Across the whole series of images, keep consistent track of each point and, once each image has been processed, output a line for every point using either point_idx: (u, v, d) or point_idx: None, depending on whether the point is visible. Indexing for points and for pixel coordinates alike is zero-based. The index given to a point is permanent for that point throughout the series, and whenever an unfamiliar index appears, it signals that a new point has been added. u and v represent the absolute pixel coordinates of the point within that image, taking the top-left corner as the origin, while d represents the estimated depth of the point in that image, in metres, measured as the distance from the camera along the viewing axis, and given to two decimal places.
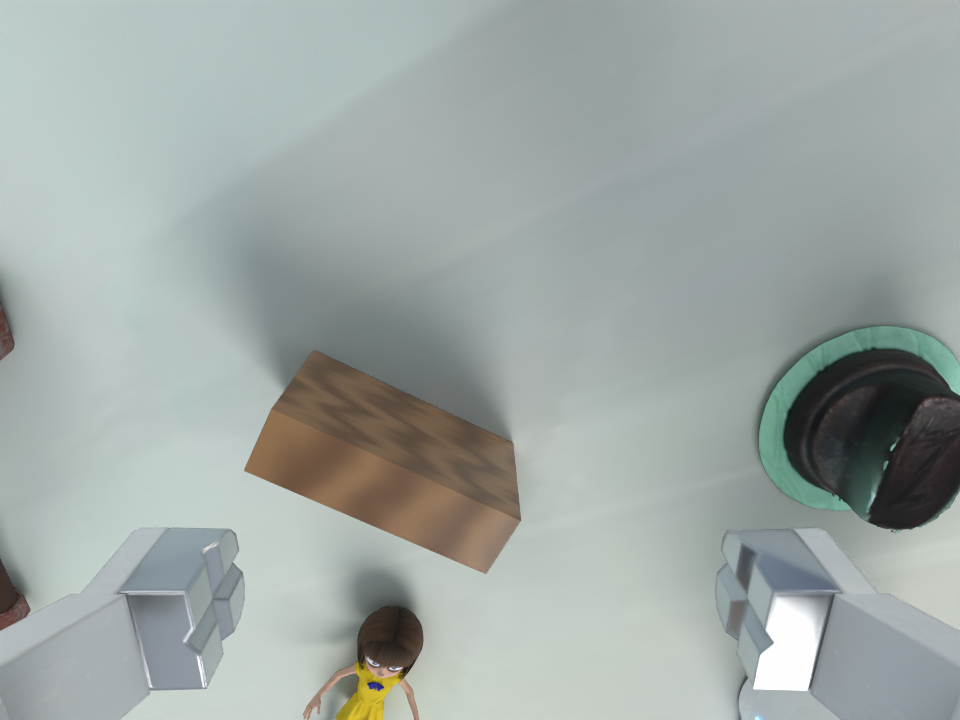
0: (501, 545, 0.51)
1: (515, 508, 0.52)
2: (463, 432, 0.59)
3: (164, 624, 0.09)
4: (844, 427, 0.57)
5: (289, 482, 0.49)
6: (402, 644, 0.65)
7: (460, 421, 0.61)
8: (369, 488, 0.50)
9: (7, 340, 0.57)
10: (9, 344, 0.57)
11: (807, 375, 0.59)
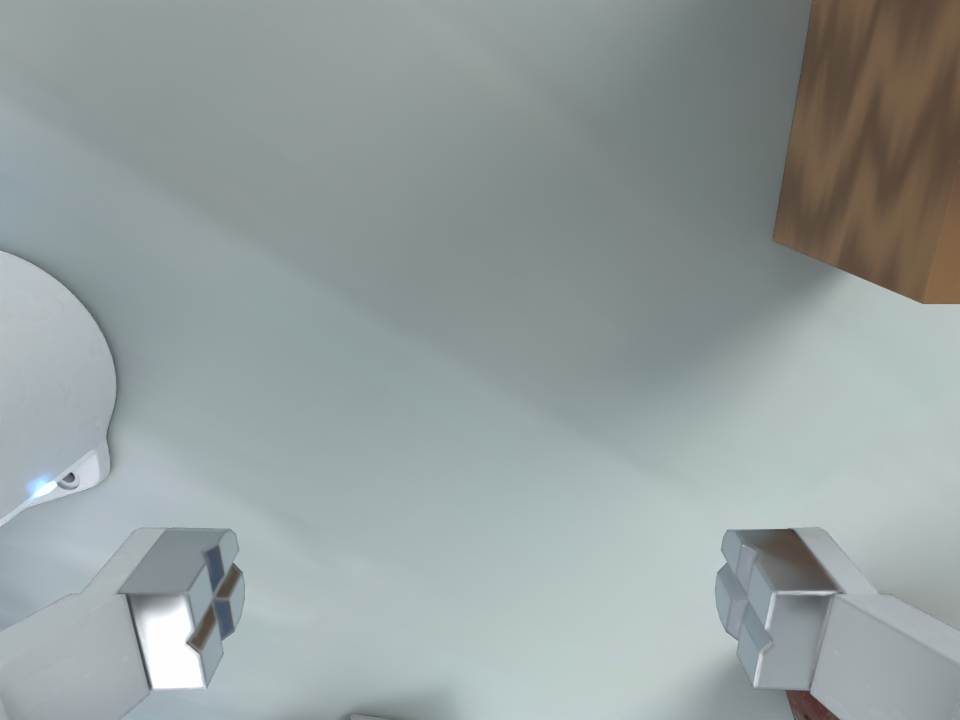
0: None
1: None
2: None
3: (164, 624, 0.09)
4: None
5: None
6: None
7: None
8: None
9: None
10: None
11: None
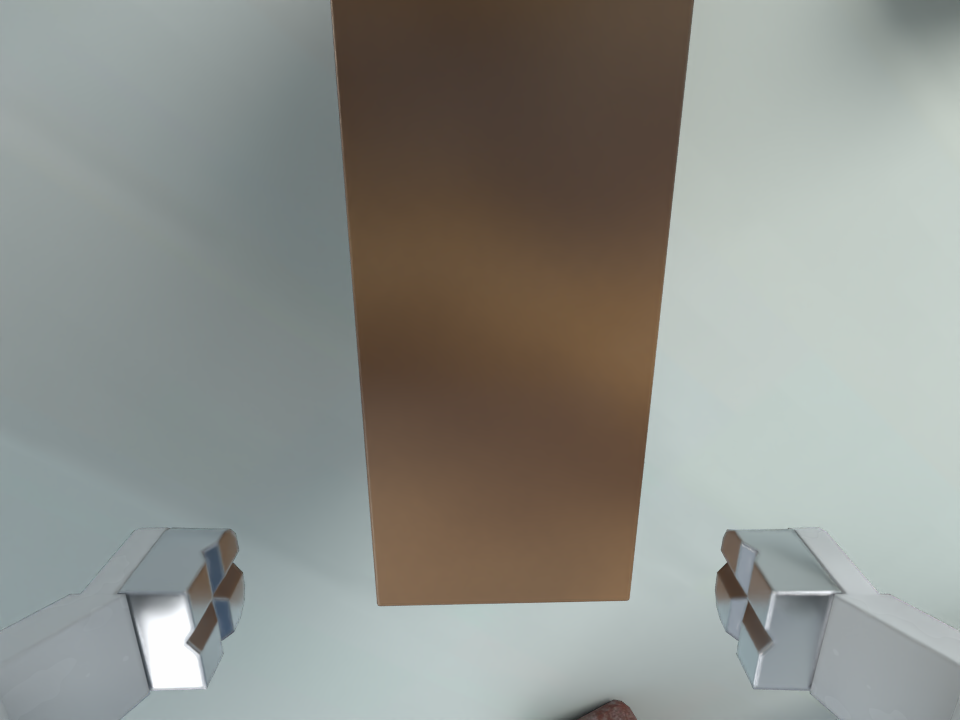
0: None
1: None
2: None
3: (164, 624, 0.09)
4: None
5: (612, 474, 0.14)
6: None
7: None
8: (505, 202, 0.12)
9: (609, 717, 0.40)
10: (615, 712, 0.40)
11: None
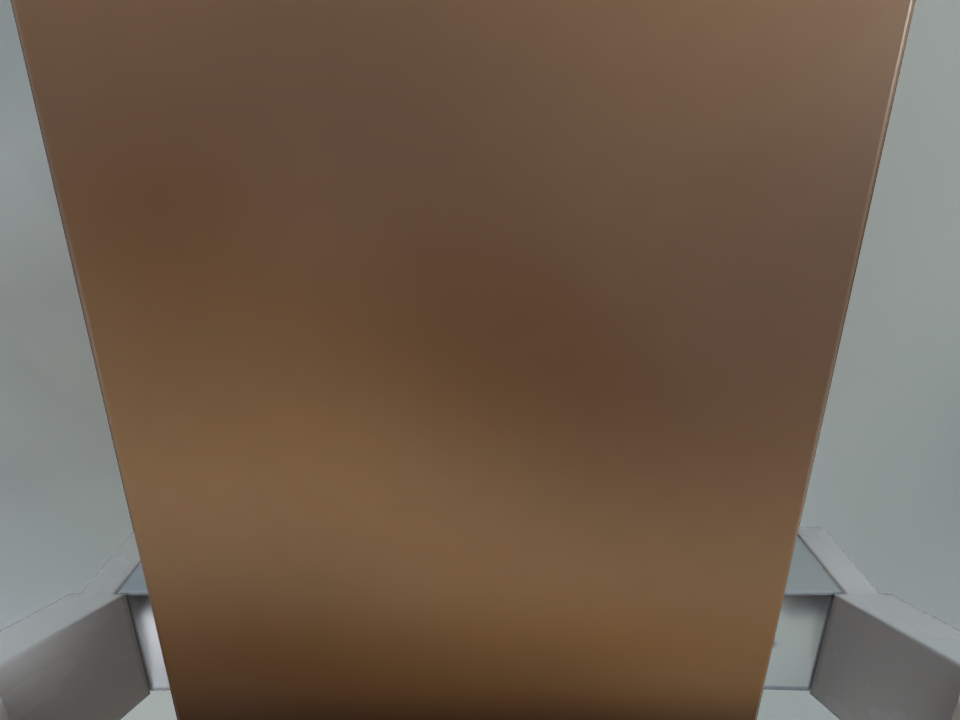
0: None
1: None
2: None
3: None
4: None
5: None
6: None
7: None
8: (453, 393, 0.05)
9: None
10: None
11: None
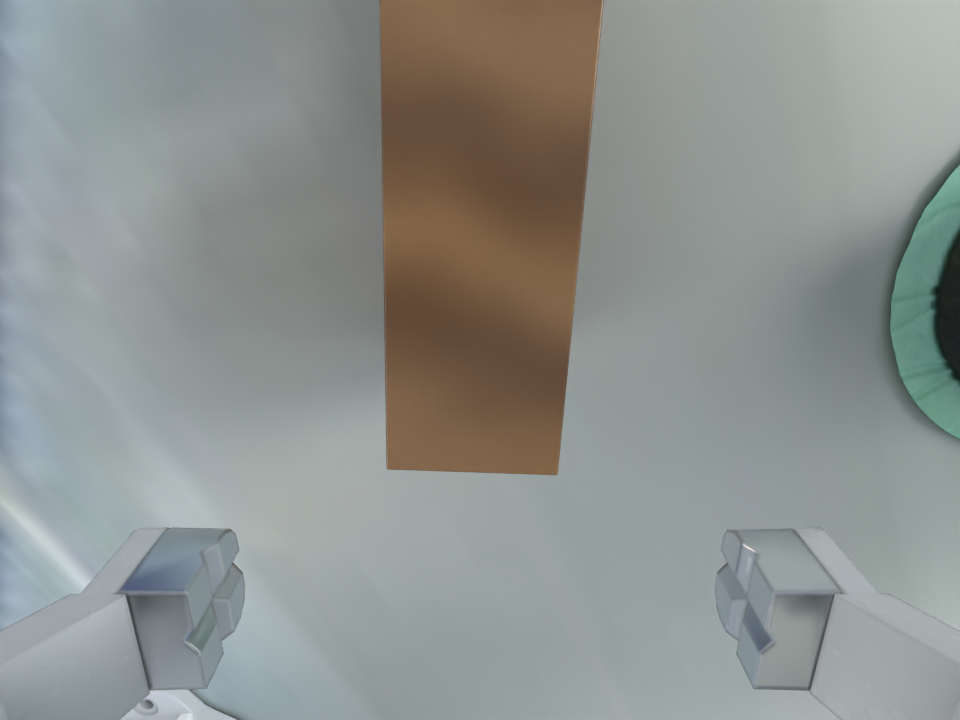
0: None
1: None
2: None
3: (164, 624, 0.09)
4: None
5: (546, 382, 0.21)
6: None
7: None
8: (480, 200, 0.19)
9: None
10: None
11: (955, 394, 0.34)
